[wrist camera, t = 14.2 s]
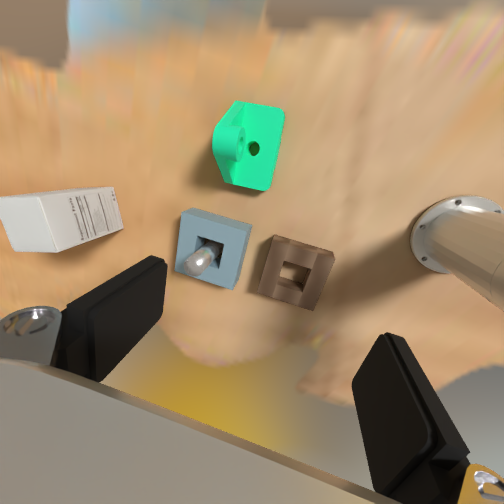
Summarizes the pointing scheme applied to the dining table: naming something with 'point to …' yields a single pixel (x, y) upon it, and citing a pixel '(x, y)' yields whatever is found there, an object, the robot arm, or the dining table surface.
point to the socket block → (217, 229)
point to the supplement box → (59, 218)
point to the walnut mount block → (297, 254)
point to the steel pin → (202, 258)
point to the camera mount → (248, 144)
